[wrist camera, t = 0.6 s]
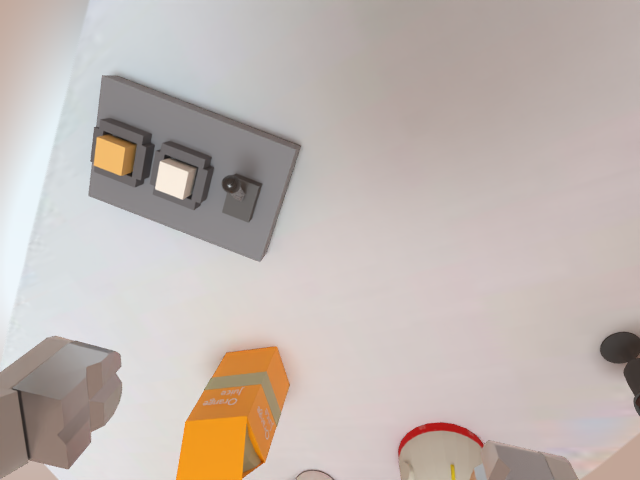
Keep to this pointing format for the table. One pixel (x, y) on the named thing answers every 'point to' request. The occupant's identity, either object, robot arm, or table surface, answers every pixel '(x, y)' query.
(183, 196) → the cream button
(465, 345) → the table surface
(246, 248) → the control panel
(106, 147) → the amber button
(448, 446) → the kitchen timer
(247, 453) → the orange juice
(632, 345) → the sundae
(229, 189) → the toggle lever
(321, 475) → the milk bottle
